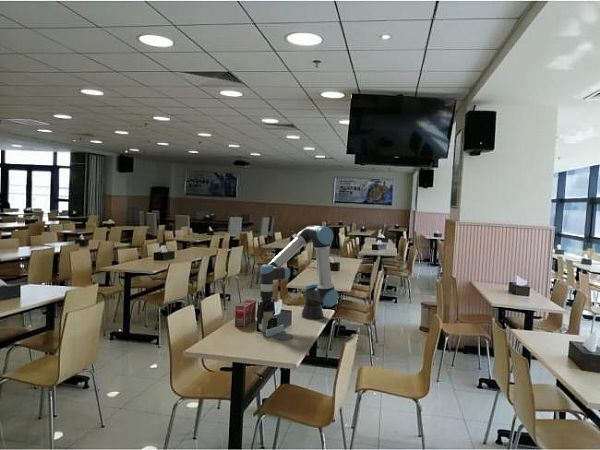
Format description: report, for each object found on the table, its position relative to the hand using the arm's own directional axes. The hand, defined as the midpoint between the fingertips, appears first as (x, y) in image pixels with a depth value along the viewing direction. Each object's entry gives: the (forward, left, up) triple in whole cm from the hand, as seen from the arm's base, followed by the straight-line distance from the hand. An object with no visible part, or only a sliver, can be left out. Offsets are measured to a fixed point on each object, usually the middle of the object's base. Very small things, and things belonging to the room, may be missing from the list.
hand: (265, 327), depth 286 cm
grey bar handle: (+1, +8, -2) cm, 8 cm away
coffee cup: (0, 0, -2) cm, 2 cm away
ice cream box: (-5, -21, -3) cm, 22 cm away
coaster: (+3, +16, -2) cm, 16 cm away
